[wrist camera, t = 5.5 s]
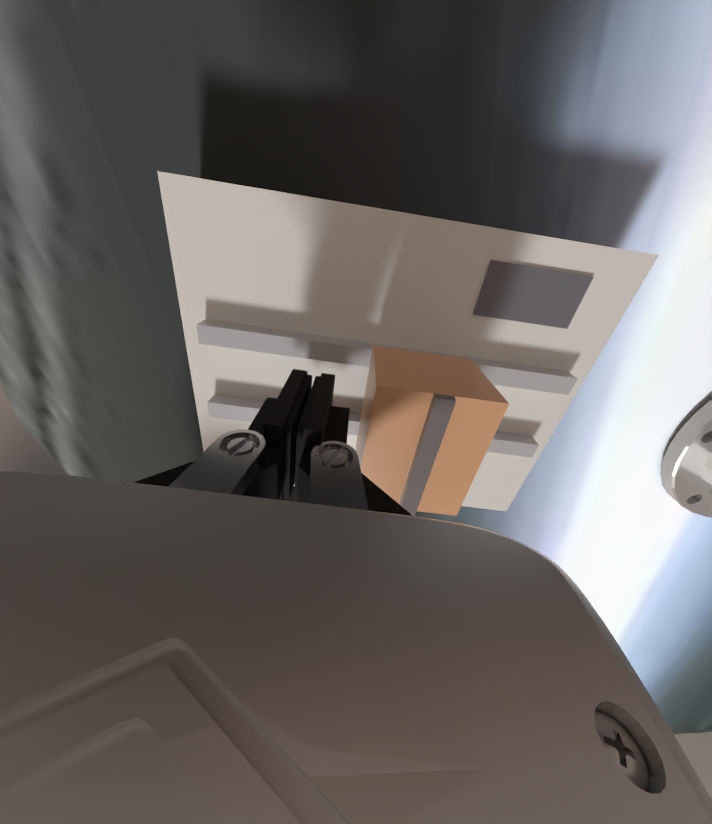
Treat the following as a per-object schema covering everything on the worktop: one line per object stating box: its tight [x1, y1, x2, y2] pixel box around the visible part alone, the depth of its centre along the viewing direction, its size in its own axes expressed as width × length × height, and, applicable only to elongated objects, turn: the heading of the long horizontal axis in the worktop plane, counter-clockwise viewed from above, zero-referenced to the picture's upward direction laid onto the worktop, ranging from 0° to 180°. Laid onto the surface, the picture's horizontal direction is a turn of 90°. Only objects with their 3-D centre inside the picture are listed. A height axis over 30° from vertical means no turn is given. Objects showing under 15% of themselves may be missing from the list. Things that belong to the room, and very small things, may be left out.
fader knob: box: [356, 345, 509, 516], centre depth 12 cm, size 4×5×5 cm
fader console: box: [157, 171, 659, 511], centre depth 15 cm, size 18×14×4 cm
